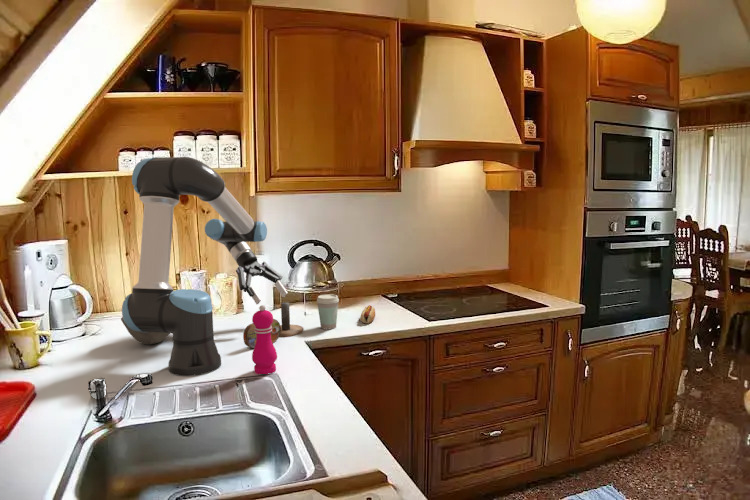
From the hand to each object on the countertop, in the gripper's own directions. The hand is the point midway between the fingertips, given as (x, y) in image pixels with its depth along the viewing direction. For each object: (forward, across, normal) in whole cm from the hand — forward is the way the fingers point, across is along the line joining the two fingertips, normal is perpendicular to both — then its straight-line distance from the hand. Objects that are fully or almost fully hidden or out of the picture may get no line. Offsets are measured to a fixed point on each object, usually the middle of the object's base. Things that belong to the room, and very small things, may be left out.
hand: (272, 298), depth 201 cm
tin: (+16, +16, 0) cm, 23 cm away
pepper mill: (+30, +34, +14) cm, 48 cm away
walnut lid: (+14, +1, -3) cm, 14 cm away
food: (+25, -29, +8) cm, 39 cm away
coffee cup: (+20, -12, +4) cm, 24 cm away
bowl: (-8, +36, -25) cm, 44 cm away
